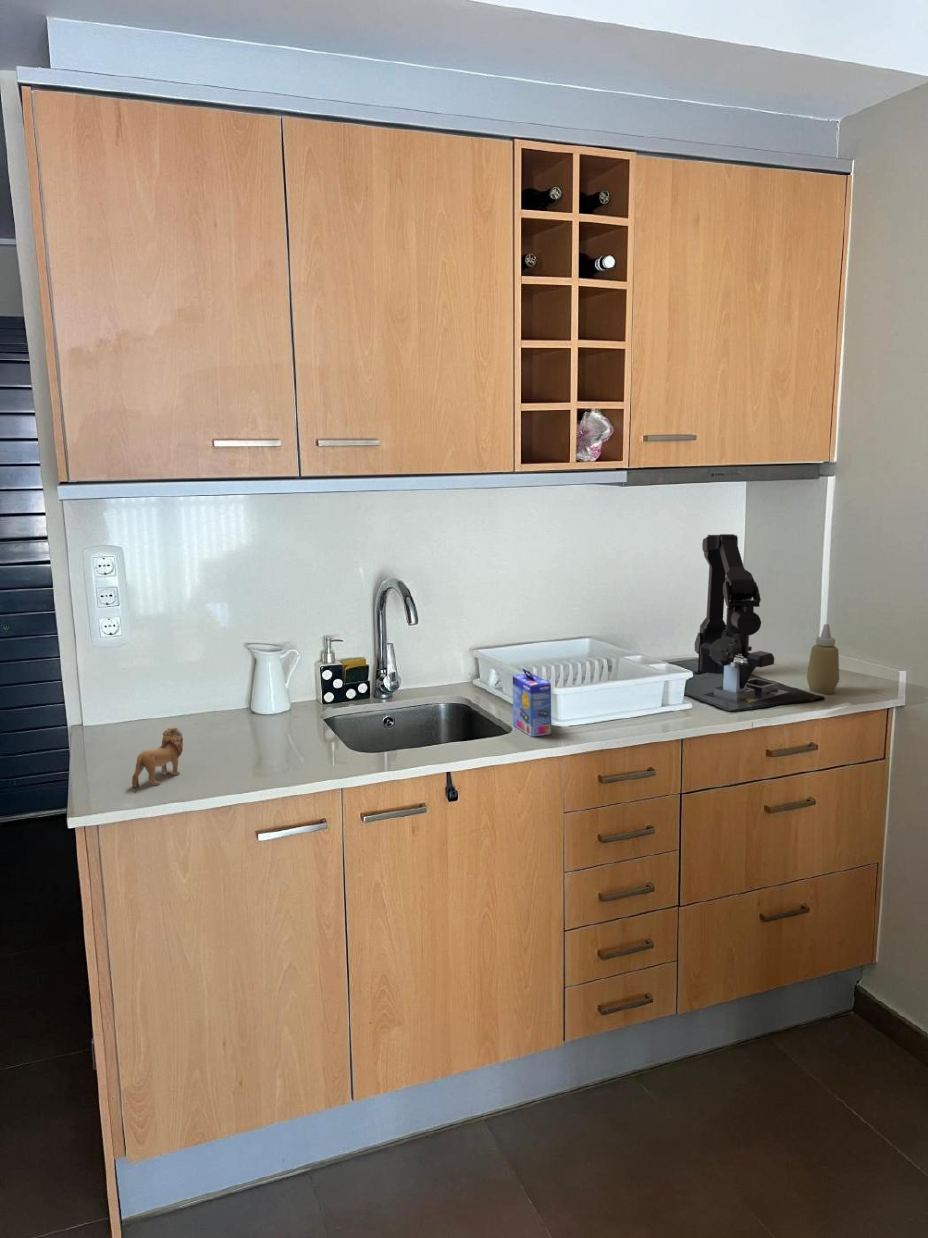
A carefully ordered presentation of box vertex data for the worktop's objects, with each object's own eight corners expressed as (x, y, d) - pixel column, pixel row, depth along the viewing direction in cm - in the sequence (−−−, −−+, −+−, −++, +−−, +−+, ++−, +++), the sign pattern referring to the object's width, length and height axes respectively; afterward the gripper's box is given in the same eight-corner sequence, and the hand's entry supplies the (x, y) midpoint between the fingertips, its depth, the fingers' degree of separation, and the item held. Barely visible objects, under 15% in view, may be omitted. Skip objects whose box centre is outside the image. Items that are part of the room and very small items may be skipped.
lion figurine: (168, 765, 193) (165, 723, 192) (191, 768, 192) (188, 725, 190) (124, 791, 180) (121, 746, 178) (149, 794, 178) (145, 748, 176)
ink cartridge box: (511, 725, 220) (511, 665, 217) (532, 722, 222) (532, 662, 219) (530, 737, 211) (531, 675, 208) (552, 734, 213) (553, 672, 210)
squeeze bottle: (798, 689, 249) (803, 623, 246) (821, 686, 253) (826, 620, 249) (821, 697, 242) (826, 628, 239) (845, 693, 246) (850, 626, 242)
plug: (722, 696, 240) (724, 661, 238) (732, 693, 242) (734, 659, 241) (735, 699, 237) (737, 664, 235) (745, 696, 239) (747, 662, 237)
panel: (702, 698, 241) (702, 687, 241) (750, 686, 253) (750, 675, 253) (741, 709, 232) (741, 697, 231) (789, 695, 244) (790, 684, 243)
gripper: (687, 624, 239) (684, 684, 242) (749, 637, 224) (745, 700, 227) (715, 619, 245) (712, 677, 248) (777, 631, 231) (773, 692, 234)
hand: (734, 686), depth 239 cm, fingers closed on plug, 4 cm apart
